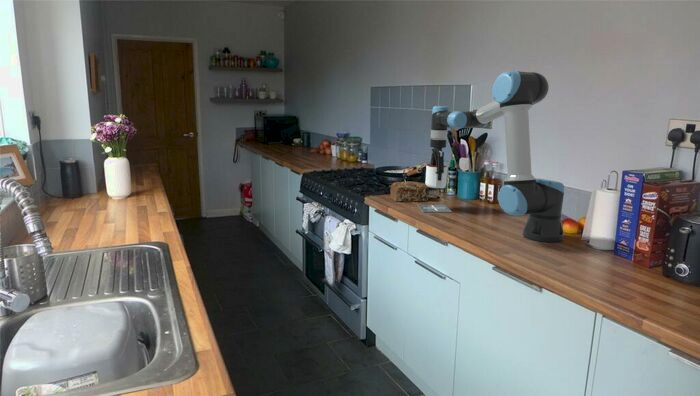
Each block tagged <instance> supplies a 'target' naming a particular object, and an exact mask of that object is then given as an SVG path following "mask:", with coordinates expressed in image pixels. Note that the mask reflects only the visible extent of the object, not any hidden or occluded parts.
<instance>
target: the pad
mask: <svg viewBox="0 0 700 396" xmlns="http://www.w3.org/2000/svg"><path fill="white" fill-rule="evenodd" d="M417 207H418V208H419V210H420V211H421V212H422V213H423V214H424V213H425V214H432V213H433V214H452V213H453V211H452V210H451V209H450V208H449V207H448V206H447V205H445V204H417Z"/></svg>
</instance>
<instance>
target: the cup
mask: <svg viewBox="0 0 700 396" xmlns="http://www.w3.org/2000/svg"><path fill="white" fill-rule="evenodd" d="M425 167H426V169H425V182H424V184H426V186H428V187H429V188H433V189H442V188H443V189H444V188H445V187H446V186H447V181H448V180H447V178H448V166H447V165H444V173H443V174H442V186H441V187H435V186H436V172H437V165H436V166H433V165H430V164H427V165H426V166H425Z"/></svg>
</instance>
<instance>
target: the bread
mask: <svg viewBox="0 0 700 396" xmlns="http://www.w3.org/2000/svg"><path fill="white" fill-rule="evenodd" d="M429 188H430V187H428V186H426V184H425V182H421V181H420V182H418V181H410V180H409V181H395V182H393V183H392V184H391V185H390V188H389V189H390V199H391V200H393V202H396V203H397V202H398V203H400V202H405V203H407V202H408V203H410V202H415V201H416V202H427V201H428V200H429V195H430V194H429V193H430V192H429V191H430V190H429Z"/></svg>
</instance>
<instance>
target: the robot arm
mask: <svg viewBox="0 0 700 396" xmlns="http://www.w3.org/2000/svg"><path fill="white" fill-rule="evenodd" d="M549 86H550V85H549V81H548V79H547V78H546V77H545V76H544V75H543V74H541V73H540V72H539V73H538V72H534V71H533V72H531V71H529V72H528V71H520V70H519V71H518V70H511V71H504V72H501V73H500V74H499V75H498V76H497V77H496V80H495V81H494V83H493V86H492V89H491V90H492V91H491V93H492V98H493V99H494V100H493V101H491V102H489V103H486V104H485V105H483V106H481V107H479V108H477V109H475V110H473V111H472V110H469V111H468V110H467V111H465V110H461V111H460V110H459V111H458V110H449V107H448V106H446V105H443V106H442V105H434V106H433V107H432V111H431V112H432V113H431V125H430V126H431V128H430V141H429V143H430V144H429V145H430V147H431V148H432V149H431V158H430V164H429V165H433V166H436V165H437V172H436V186H435V187H441V186H442V174H443V173H444V166H445V165H444V162H445V158H444V156H445V151H443V149H445V148H447V137H448V134H449V132H448V128H449V129H469V128H470V129H480V128H485V127H487V126H488V124H489V122H492V121H494V120H497V119H499V118H501V117H504V131H505V132H504V133H505V148H506V149H505V150H506V166H507V167H506V168H507V169H506V170H507V177H505V179H503V186H502V187H500V189H499V191H498V193H497V199H498V200H497V201H498V204H499V206H500V208H501V210H503V211H504V213H506V214H508V215H510V216H523V215H524V216H525V215H528V218H527V220H526V222H525V225H524V227H523V228H522V236H523V237H524V238H526V239H530V240H532V241H536V242H544V243H558V242H562V241H563V240H564V236H565V234H564V229H563V225H562V220H561V218H562V213H563V211H562V210H563V203H564V195H565V185H564V183H563V182H560V181H556V180H551V179H544V178H536V177H535V176H534V175H533V173H532V158H531V157H532V156H531V140H530V137H531V135H530V120H529V119H530V118H529V111H530V110H531V108H532V107H533V106H534V105H536V104H539V103H540V102H542V101H543V100H544V99H545V98H546V96H547V95H548V93H549Z"/></svg>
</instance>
